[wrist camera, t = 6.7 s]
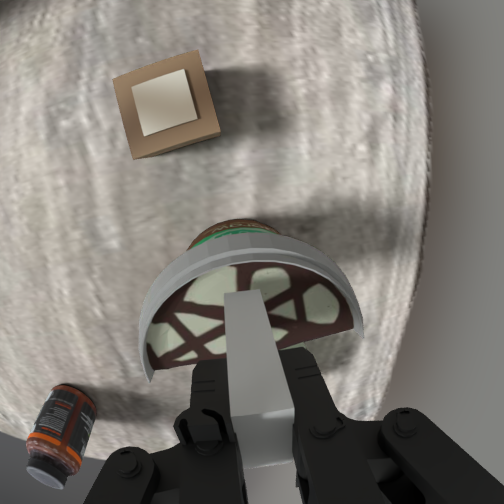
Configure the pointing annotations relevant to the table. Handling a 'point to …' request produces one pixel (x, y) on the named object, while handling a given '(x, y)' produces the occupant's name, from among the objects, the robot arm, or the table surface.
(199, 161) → the table surface
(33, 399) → the table surface
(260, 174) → the table surface
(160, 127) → the walnut block
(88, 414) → the supplement bottle
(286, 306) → the food container
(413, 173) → the table surface
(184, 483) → the robot arm
